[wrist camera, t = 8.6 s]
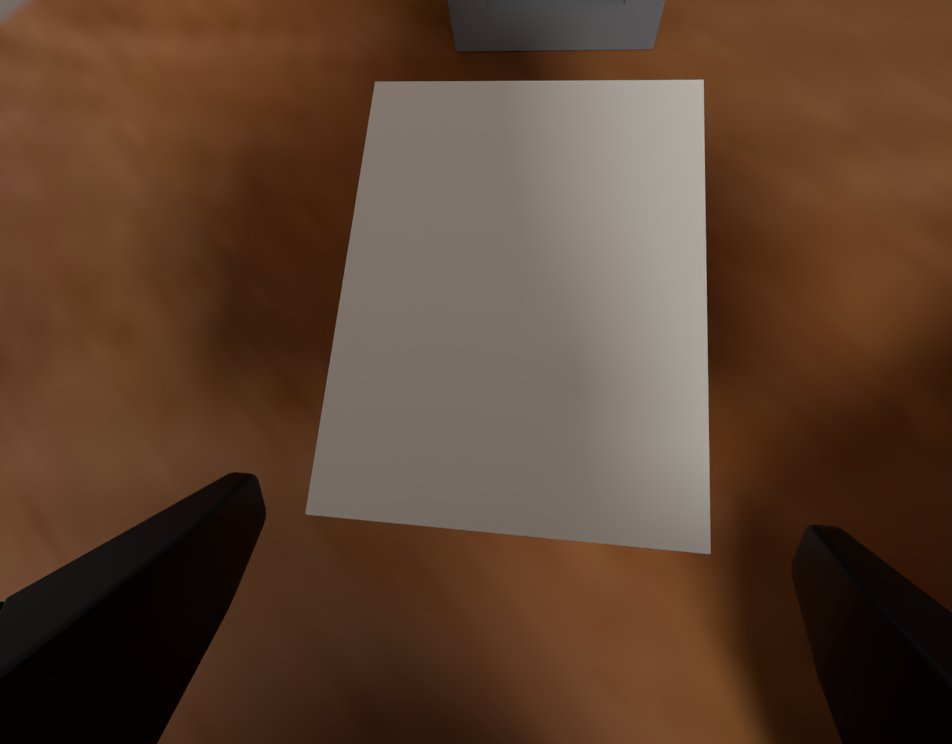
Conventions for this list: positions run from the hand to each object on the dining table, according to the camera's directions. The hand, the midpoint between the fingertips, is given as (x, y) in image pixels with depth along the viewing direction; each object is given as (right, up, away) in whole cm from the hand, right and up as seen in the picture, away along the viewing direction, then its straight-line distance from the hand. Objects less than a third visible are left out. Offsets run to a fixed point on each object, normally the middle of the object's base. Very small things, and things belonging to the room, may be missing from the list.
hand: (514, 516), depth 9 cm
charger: (+1, +3, +7) cm, 8 cm away
